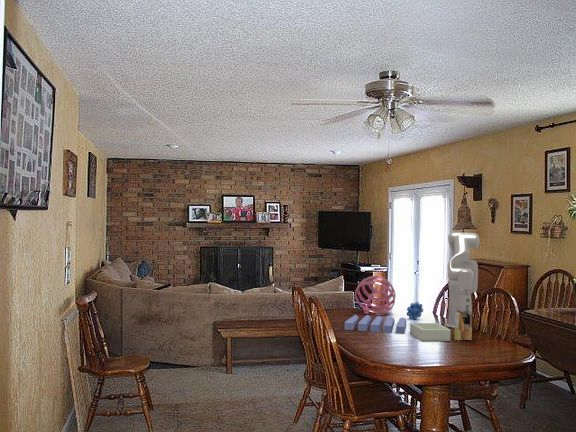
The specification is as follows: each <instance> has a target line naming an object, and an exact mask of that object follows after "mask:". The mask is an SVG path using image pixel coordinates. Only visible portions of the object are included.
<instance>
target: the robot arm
mask: <svg viewBox="0 0 576 432" xmlns="http://www.w3.org/2000/svg"><path fill="white" fill-rule="evenodd" d="M447 241H448V245H449V248H450V251H451V257H450V259H449V260H448V262H447V278H448V283H447V284H448V289H449V297H448V299H449V302H448V304H449V307H448V323H446V324H445V327H446V328H450V327H451V329H455V313H464V315H465V317H464V324H465V325H470V317H471V313H472V314H473V304H472V303H473V302H472V293H476V292H477V291H478V283H479V282H478V281H479V266H478V262H477V261H476V260H474V259H470V257H471V254H470V253H471V252H470V249H478V248H479V247H480V243H481V241H480V237H479V234H477V233H475V232H464V231H463V232H458V231H457V232H455V231H454V232H450V233H449V234H448V236H447ZM466 314H467V315H466Z"/></svg>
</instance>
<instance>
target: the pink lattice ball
mask: <svg viewBox="0 0 576 432" xmlns="http://www.w3.org/2000/svg"><path fill="white" fill-rule="evenodd" d="M377 280H378V281H377ZM380 281H382V282H380ZM383 282H384V283H383ZM366 285H368V288H369V290H370V291H371V293H369V292H368V291H367V289H366ZM373 285H376V287H374V286H373ZM378 286H380V287H381V289H382V290H380V289H378ZM360 288H361V291H362V292H363V294H364V295H365V296H367V299H365V297H363V295H362V293H361V291H360ZM354 291H355V292H354V297H355V300H356V302H357V304H358V305H359V307H361V308H362V309H363V313H364V314H365V315H368V314H369V313H373V314H375V315H376V316H381V317H382V316H384V315H386V314H387V313H388V312H389V311H390V310H392V309H393V307H394V305H395V303H396V292H395V291H396V290H395V288H394V286H393V284H392V282H390V281H389V279H387V278H385V277H382V276H379V275H371V276H368V277H366V278H363V279H362V280H361V281H360V282H359V283H358V285H357V287H356V289H355V290H354ZM387 292H389V293H390V294H388V293H387ZM375 294H378V295H382V294H383V295H384V297H376V296H375ZM357 295H358V296H357ZM391 298H392V300H391V301H390V299H391ZM359 299H360V300H359ZM360 301H362V302H363V303H364V304H365V305H363V304H362V303H361V302H360ZM372 301H376V302H386V303H385V304H376V303H373V302H372ZM369 307H372V308H375V309H384V310H374V309H370V308H369Z"/></svg>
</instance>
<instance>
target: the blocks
mask: <svg viewBox="0 0 576 432" xmlns="http://www.w3.org/2000/svg"><path fill="white" fill-rule="evenodd" d="M359 319H360V318H359V316H358V315H357V314H356V313H355V314H354V315H352V317H349V318H348V319H347V320H345V321H344V330H345V331H346V330H347V331H348V330H349V331H354V330H355V329H354V328H355V327H356V325H357V331H358V332H367V330H368V328H369V326H370V333H371V332H373V333H379V332H380V330H381V327H382V324H383V327H382V332H383V333H384V334H392V333H393V330H394V325H395V322H396V321H395V318H394V317H393V316H389V317H387V319H386V320H385V321H384V318H383V317H382V316H379V315H376V317H375V318H374V319H373V321H372V317H371V315H368V314H365V315H364V316H363V317H362V318H361V319H360V320H359ZM383 322H384V323H383ZM406 326H407V319H406V318H405V317H400V318H399V320H397V323H396V326H395V334H398V335H405V334H406V328H407V327H406Z"/></svg>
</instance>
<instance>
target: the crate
mask: <svg viewBox="0 0 576 432" xmlns="http://www.w3.org/2000/svg"><path fill="white" fill-rule="evenodd" d="M409 334H410V335H411V337H414V338H415V339H417V340H419V342H425V343H426V342H427V343H429V342H430V343H431V342H432V343H433V342H434V343H435V341H436V342H437V343H439V342H438V341H450V342H451V329H449V327H447V326H443V325H442V324H439V323H437V322H434V323H433V322H410V323H409Z"/></svg>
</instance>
